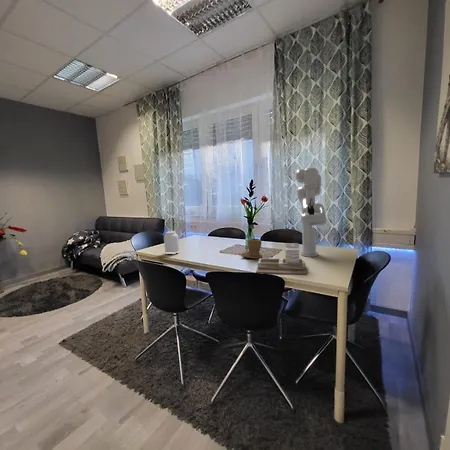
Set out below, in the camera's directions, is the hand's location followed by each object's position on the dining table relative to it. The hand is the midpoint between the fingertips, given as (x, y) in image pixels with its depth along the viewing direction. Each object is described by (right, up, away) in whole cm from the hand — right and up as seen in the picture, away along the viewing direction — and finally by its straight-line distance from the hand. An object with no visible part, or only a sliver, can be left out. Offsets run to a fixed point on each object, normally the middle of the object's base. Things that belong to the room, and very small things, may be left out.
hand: (311, 213), depth 156 cm
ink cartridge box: (-13, -34, -3) cm, 36 cm away
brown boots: (-35, -33, +27) cm, 55 cm away
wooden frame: (-20, -35, 0) cm, 40 cm away
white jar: (-103, -33, +57) cm, 123 cm away
